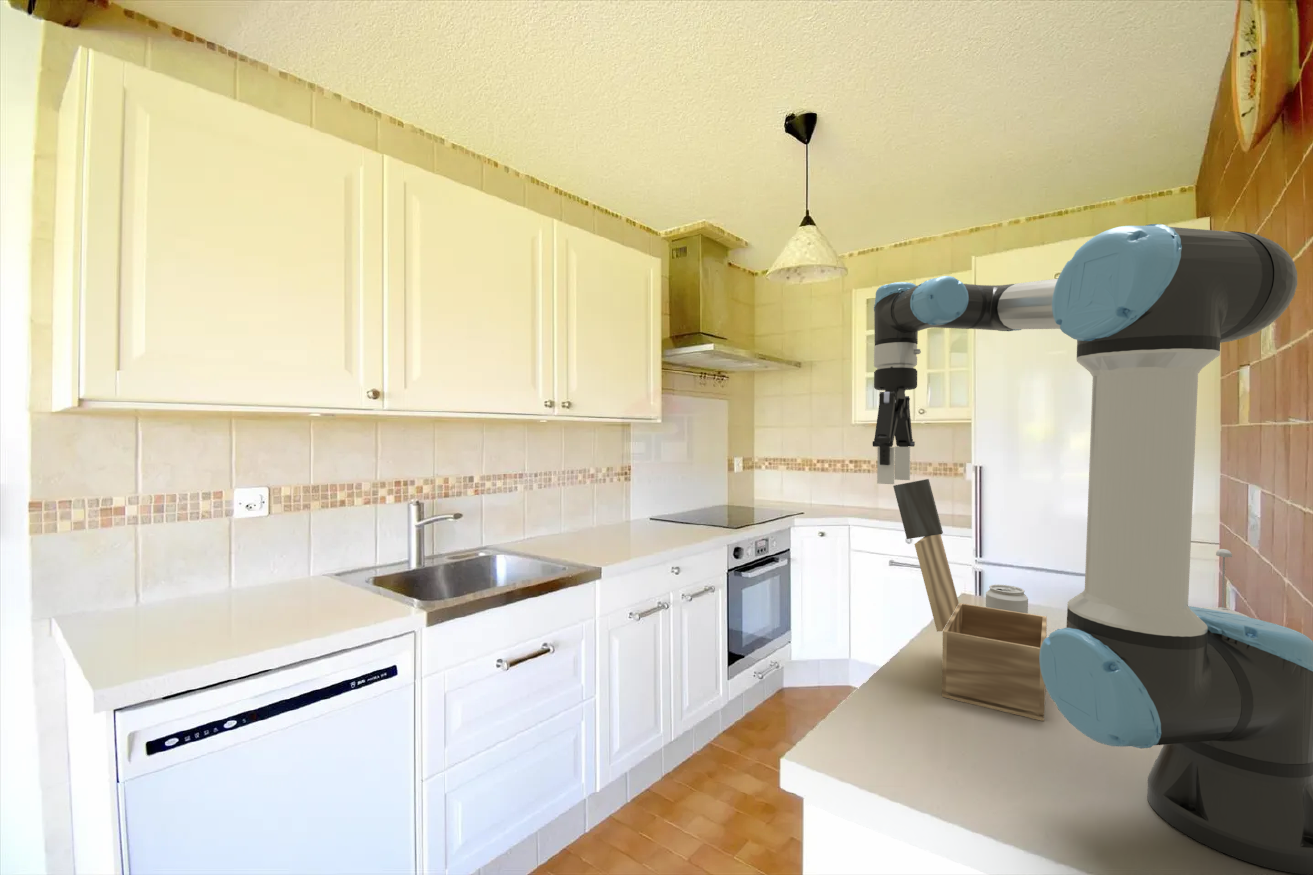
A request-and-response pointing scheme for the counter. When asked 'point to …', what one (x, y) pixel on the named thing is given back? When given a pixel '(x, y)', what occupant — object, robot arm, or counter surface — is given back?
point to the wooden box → (994, 659)
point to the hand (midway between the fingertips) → (894, 481)
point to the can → (1007, 598)
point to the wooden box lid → (928, 547)
